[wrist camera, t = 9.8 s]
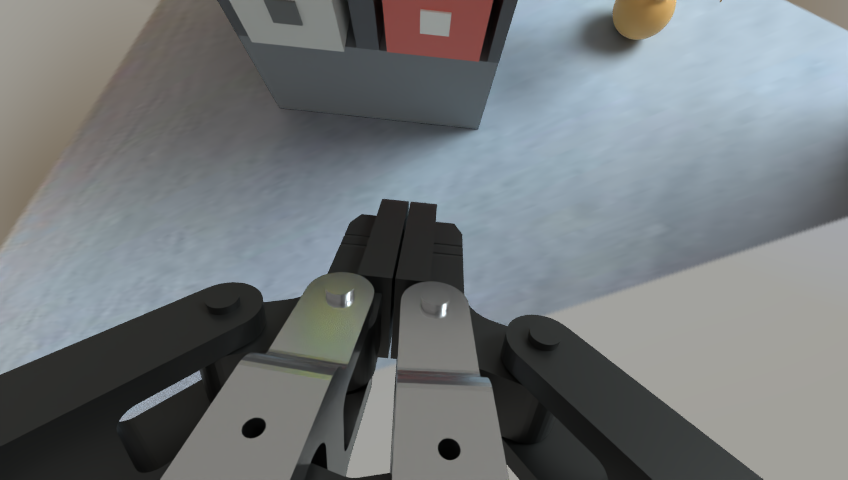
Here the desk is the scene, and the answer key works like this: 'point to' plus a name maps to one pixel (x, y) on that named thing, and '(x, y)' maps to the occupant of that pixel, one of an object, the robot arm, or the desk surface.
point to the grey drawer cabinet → (380, 72)
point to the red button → (437, 27)
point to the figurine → (642, 17)
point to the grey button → (296, 22)
